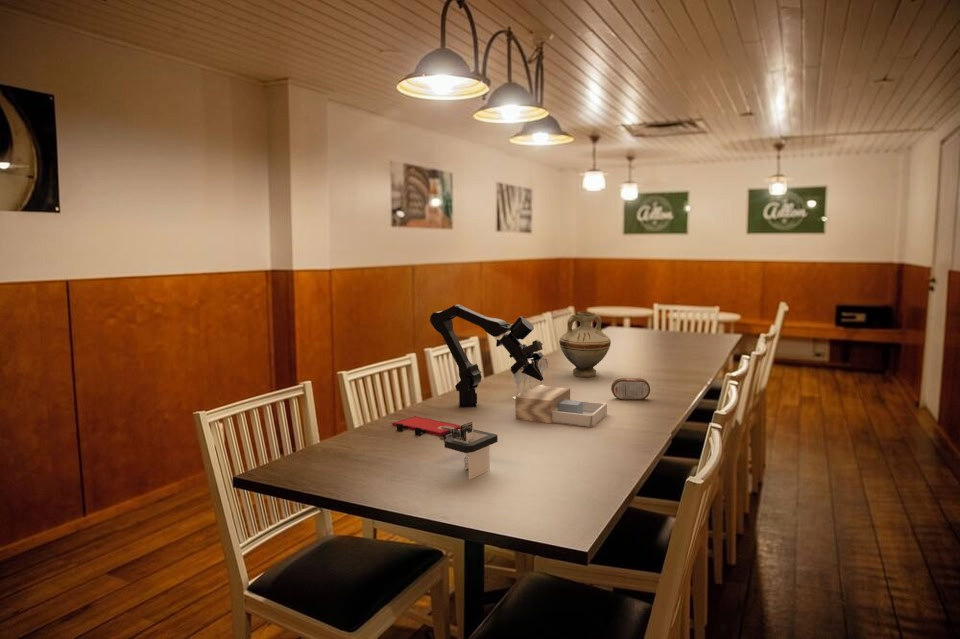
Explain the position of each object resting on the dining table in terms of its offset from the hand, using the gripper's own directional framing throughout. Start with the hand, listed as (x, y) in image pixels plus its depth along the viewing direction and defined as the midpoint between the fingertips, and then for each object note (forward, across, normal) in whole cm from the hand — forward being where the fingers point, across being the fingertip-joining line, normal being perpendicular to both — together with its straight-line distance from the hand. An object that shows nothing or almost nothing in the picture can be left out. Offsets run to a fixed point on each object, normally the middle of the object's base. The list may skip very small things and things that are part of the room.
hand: (542, 380), depth 226 cm
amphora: (+4, +71, +14) cm, 72 cm away
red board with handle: (-9, -34, +28) cm, 45 cm away
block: (+12, 0, +1) cm, 12 cm away
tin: (+26, +35, -8) cm, 44 cm away
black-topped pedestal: (+12, -63, +7) cm, 64 cm away
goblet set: (-3, +30, +22) cm, 37 cm away
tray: (+19, 0, -1) cm, 19 cm away
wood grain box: (+9, 0, +8) cm, 13 cm away
